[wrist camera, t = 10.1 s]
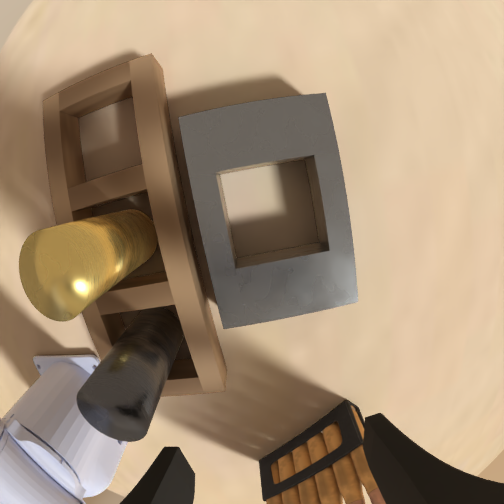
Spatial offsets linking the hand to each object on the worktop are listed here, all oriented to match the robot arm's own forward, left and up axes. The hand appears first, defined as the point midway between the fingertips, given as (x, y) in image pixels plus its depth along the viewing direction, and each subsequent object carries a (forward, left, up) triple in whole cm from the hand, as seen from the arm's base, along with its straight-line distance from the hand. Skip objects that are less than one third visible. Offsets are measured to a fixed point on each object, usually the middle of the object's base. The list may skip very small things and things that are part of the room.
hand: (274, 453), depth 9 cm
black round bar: (+1, +7, -10) cm, 13 cm away
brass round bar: (+8, +7, -10) cm, 15 cm away
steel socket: (+8, -2, -10) cm, 13 cm away
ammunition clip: (-12, -2, -11) cm, 16 cm away
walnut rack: (+8, +7, -10) cm, 15 cm away
